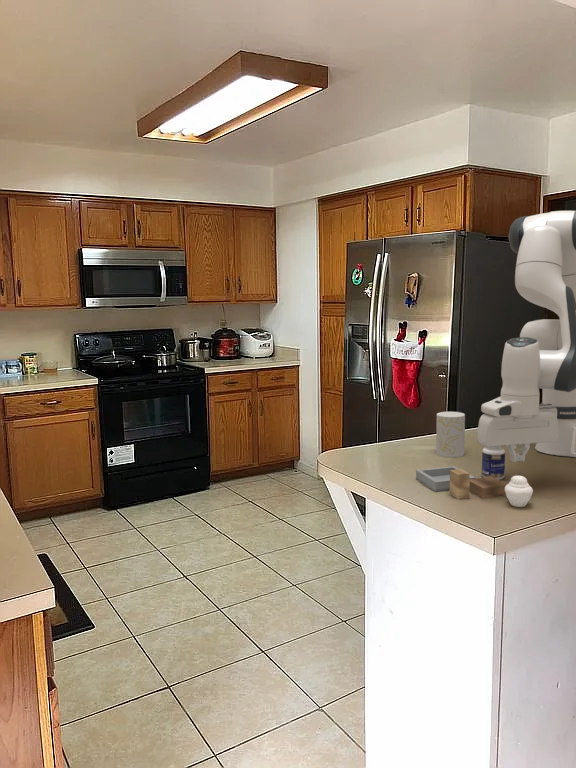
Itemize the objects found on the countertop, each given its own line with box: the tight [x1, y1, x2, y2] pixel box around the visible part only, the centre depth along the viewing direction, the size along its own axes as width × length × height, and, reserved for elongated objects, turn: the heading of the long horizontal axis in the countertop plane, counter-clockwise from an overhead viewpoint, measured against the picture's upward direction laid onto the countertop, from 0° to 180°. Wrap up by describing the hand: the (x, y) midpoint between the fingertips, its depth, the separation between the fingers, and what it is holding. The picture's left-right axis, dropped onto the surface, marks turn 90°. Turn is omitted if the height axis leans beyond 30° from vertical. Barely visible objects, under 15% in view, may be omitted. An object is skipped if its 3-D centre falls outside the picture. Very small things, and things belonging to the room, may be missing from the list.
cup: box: [435, 411, 466, 458], centre depth 192 cm, size 8×8×12 cm
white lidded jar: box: [505, 475, 534, 508], centre depth 148 cm, size 6×6×7 cm
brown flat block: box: [469, 477, 508, 500], centre depth 157 cm, size 7×7×3 cm
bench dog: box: [449, 468, 471, 500], centre depth 155 cm, size 3×4×6 cm
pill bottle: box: [481, 445, 506, 481], centre depth 168 cm, size 6×6×10 cm
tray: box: [415, 465, 477, 493], centre depth 165 cm, size 11×11×2 cm
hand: (517, 461), depth 158 cm, fingers closed
